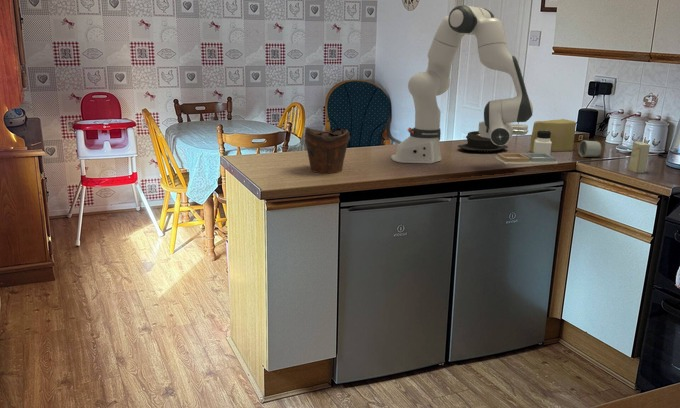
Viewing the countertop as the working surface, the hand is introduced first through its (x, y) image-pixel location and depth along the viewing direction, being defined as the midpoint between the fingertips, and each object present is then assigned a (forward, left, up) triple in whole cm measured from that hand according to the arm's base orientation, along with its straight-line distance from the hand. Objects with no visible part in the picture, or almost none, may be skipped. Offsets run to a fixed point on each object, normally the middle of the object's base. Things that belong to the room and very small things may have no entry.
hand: (503, 125), depth 266 cm
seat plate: (+14, +6, -17) cm, 23 cm away
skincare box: (+54, -16, -17) cm, 59 cm away
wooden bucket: (-77, -8, -17) cm, 79 cm away
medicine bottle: (+26, +17, -17) cm, 35 cm away
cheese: (+35, +28, -17) cm, 48 cm away
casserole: (+2, +31, -17) cm, 35 cm away
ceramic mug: (+48, +16, -17) cm, 53 cm away
